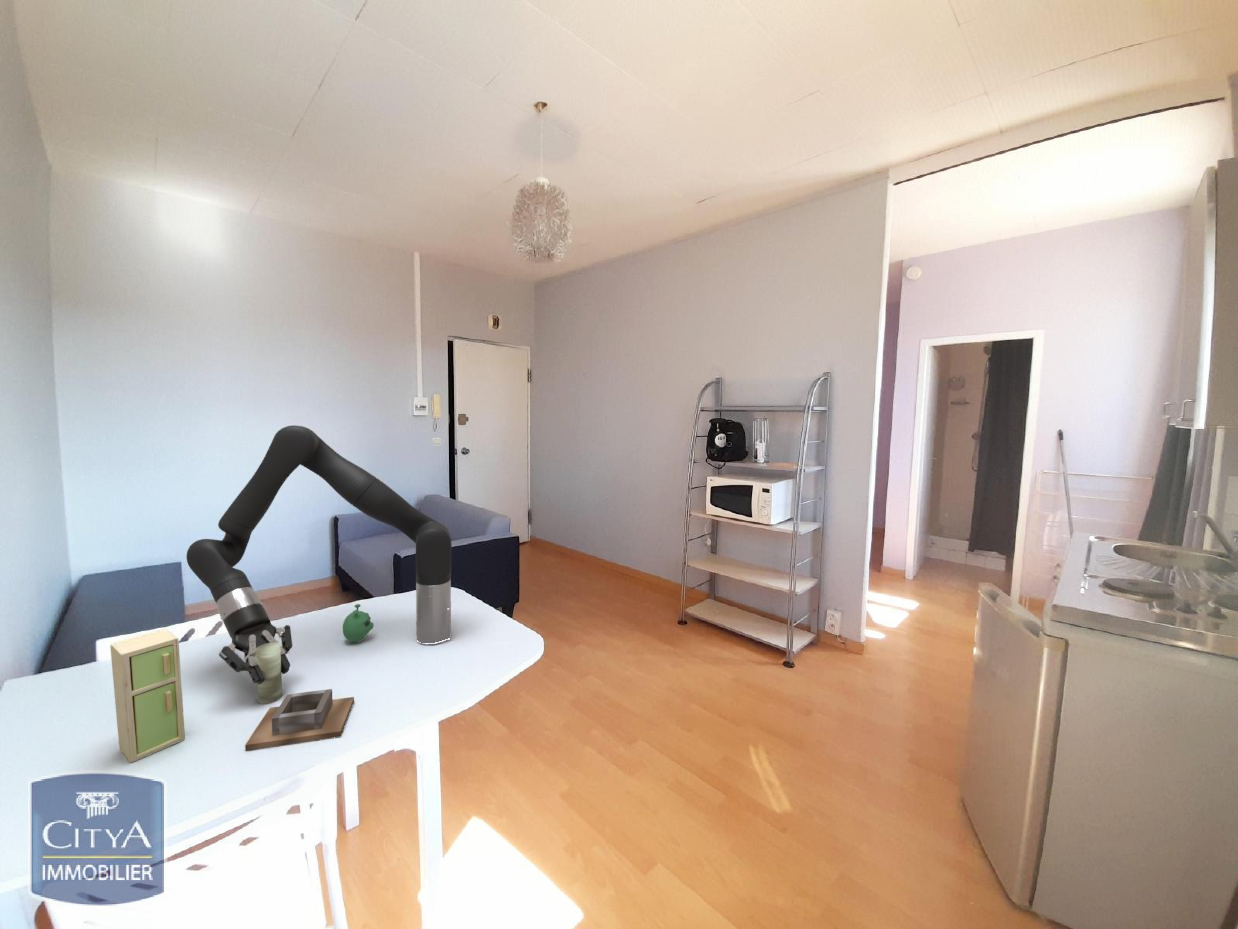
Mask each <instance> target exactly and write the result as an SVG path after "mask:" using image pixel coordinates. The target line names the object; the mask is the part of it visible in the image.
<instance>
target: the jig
mask: <svg viewBox="0 0 1238 929" xmlns="http://www.w3.org/2000/svg"><path fill="white" fill-rule="evenodd" d="M354 703H355V697H354V696H351V697H350V696H349V697H342V698H336V699H333V688H330V689H329V688H328V689H321V690H319V689H318V690H311V691H304V692H297V693H294V692H293V693H287V694H286V695H285V696H284V698H283V700H282V702H281V704H279V706H272V707H269V708H268V709H267V711H266V713H265V714H264V716H263V717H262V719H261V720H260V722H259V724H257V726H256V728H255V730H254V731H253V733H252V734H251V735H250V736H249V739H248V740H247V741H246V743H245V744H244V745H245V746H244V748H245V749H244V751H245V752H248V751H256V750H261V749H267V748H268V749H269V748H275V747H281V746H287V745H294V744H301V743H307V742H308V743H309V742H314V741H315V742H316V741H320V739H322V740H327V739H328V740H329V739H335V738H340V737H339V736H341V737H342V735H343V732H344V730H343V729H345V727H346V724H347V722H346V721H348V719H349V715H350V714H351V711H352V709H351V708H353V706H354ZM352 705H353V706H352ZM349 713H350V714H349ZM344 726H345V727H344ZM341 734H342V735H341ZM334 737H335V738H334Z"/></svg>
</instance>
